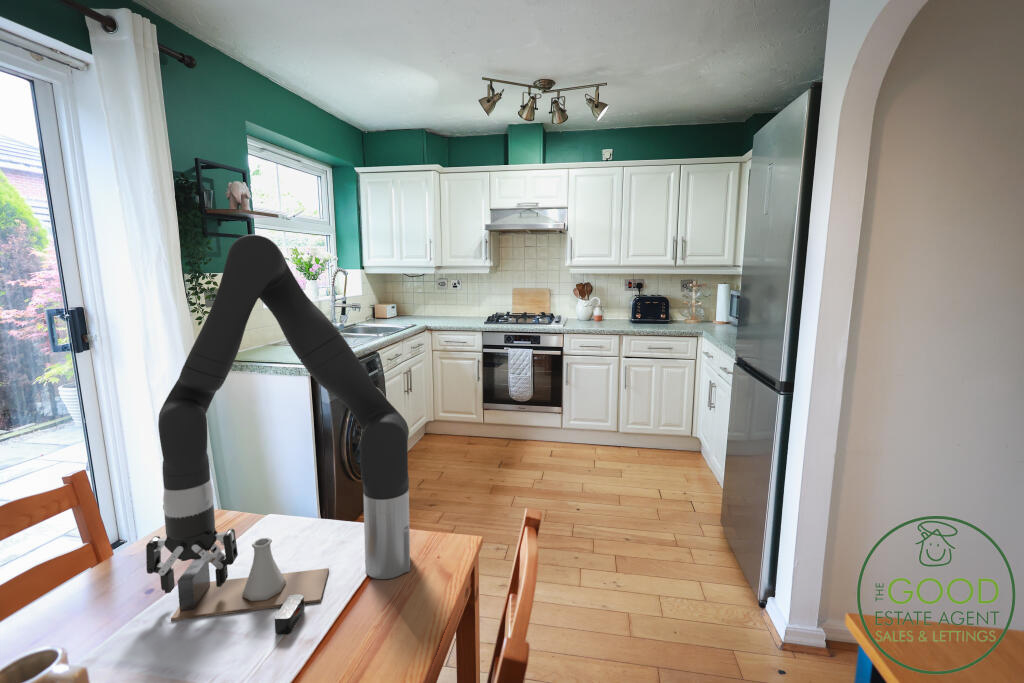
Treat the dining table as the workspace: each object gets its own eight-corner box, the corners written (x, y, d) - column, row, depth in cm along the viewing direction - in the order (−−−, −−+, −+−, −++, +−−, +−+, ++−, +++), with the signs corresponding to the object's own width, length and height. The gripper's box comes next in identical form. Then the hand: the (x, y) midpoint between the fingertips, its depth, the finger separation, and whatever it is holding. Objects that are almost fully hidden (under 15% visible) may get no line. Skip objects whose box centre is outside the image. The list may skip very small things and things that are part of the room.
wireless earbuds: (307, 607, 87) (306, 591, 87) (290, 636, 80) (289, 618, 80) (282, 607, 87) (281, 591, 87) (262, 636, 80) (261, 618, 80)
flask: (267, 605, 87) (265, 554, 86) (234, 599, 88) (231, 549, 87) (293, 581, 94) (291, 534, 93) (261, 576, 95) (259, 530, 94)
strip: (328, 570, 98) (327, 541, 98) (320, 601, 89) (319, 569, 88) (195, 585, 93) (193, 555, 92) (171, 620, 83) (168, 586, 82)
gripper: (238, 493, 91) (243, 571, 93) (155, 500, 88) (162, 580, 90) (224, 511, 84) (230, 595, 86) (133, 519, 81) (141, 606, 83)
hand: (195, 587), depth 88 cm, fingers open, 8 cm apart
